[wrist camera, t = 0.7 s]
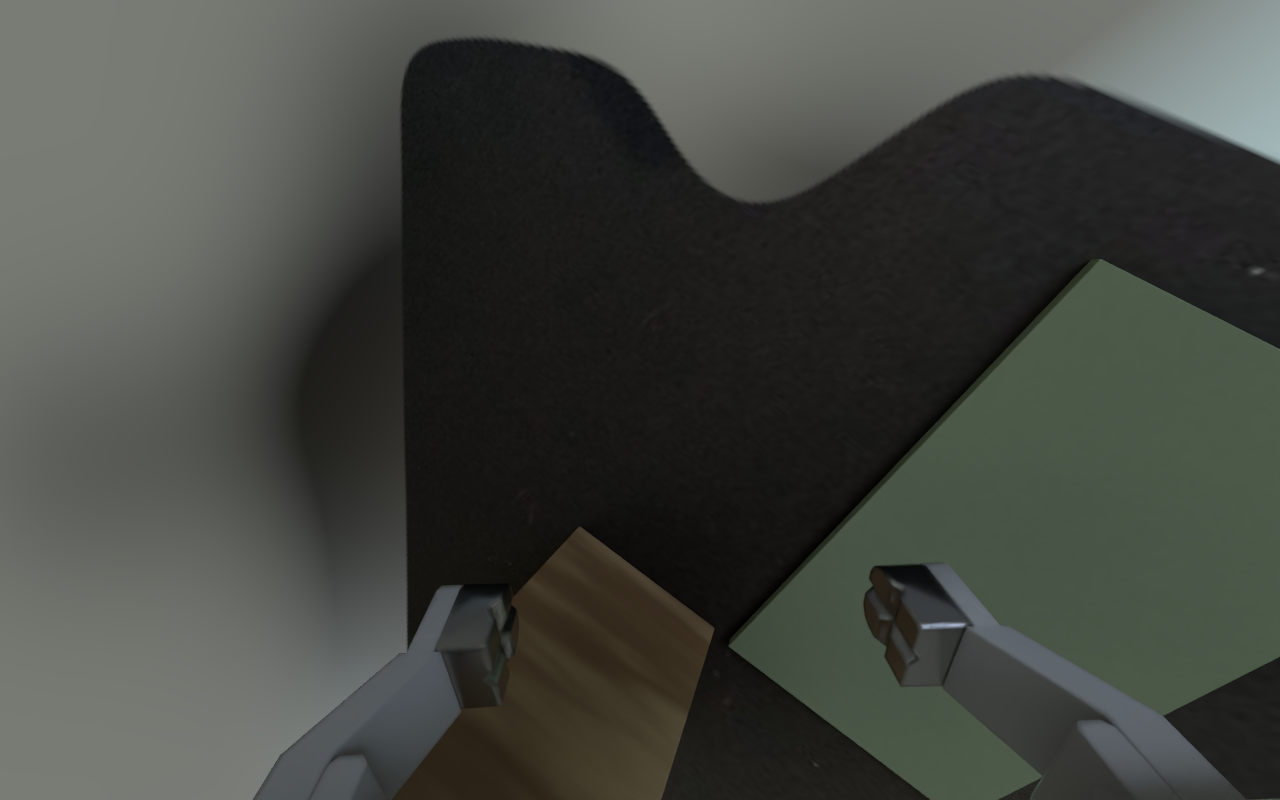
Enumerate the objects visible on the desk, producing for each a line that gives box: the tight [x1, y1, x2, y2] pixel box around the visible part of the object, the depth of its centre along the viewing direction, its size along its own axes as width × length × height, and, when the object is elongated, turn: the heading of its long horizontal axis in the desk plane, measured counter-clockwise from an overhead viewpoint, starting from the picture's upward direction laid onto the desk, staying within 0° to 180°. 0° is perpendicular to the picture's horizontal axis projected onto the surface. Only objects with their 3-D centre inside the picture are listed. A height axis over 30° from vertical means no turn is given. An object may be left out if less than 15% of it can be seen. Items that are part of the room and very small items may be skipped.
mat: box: [728, 259, 1280, 800], centre depth 20 cm, size 24×14×1 cm, turn 152°
